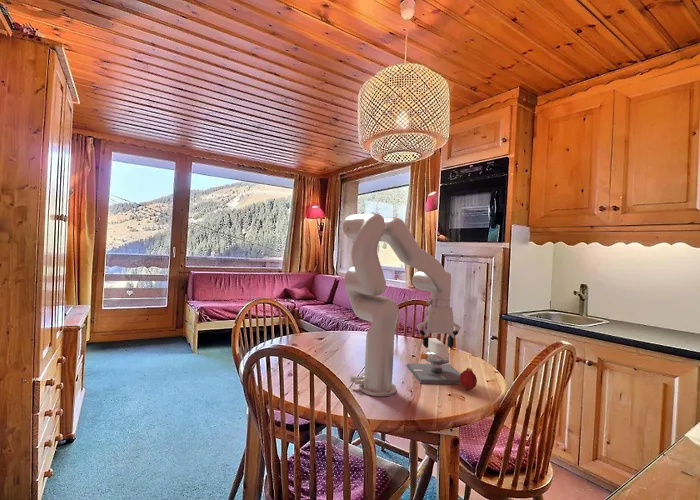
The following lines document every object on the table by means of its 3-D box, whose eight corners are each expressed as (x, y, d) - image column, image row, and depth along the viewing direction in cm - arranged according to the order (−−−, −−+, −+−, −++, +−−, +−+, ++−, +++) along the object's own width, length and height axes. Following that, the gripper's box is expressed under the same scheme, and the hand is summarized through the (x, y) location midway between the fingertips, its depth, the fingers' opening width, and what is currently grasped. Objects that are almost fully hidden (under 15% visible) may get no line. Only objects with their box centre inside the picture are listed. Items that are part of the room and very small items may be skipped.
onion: (462, 386, 129) (463, 363, 129) (478, 390, 125) (479, 367, 125) (456, 390, 124) (457, 367, 124) (472, 395, 121) (473, 371, 121)
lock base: (420, 383, 129) (421, 368, 129) (407, 367, 147) (408, 353, 147) (468, 384, 131) (469, 369, 131) (449, 367, 149) (450, 354, 149)
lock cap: (425, 365, 132) (426, 346, 132) (415, 355, 145) (416, 337, 145) (454, 365, 133) (455, 347, 133) (441, 355, 146) (442, 338, 146)
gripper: (421, 304, 134) (419, 349, 134) (465, 305, 136) (463, 350, 136) (415, 301, 142) (413, 344, 142) (457, 302, 144) (455, 344, 144)
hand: (437, 347), depth 139 cm, fingers open, 9 cm apart
